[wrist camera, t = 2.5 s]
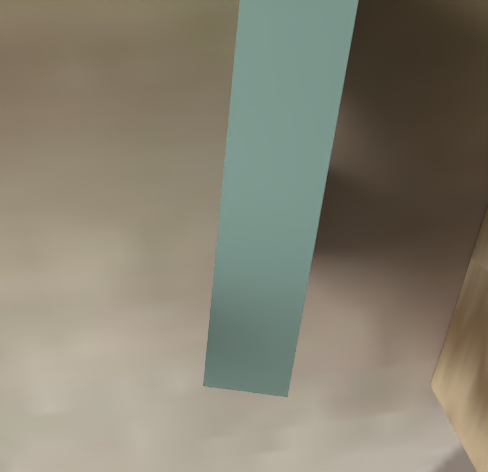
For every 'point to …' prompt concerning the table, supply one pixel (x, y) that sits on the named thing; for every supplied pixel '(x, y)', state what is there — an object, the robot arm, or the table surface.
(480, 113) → the table surface
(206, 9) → the table surface
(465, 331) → the birch notched board
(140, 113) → the table surface
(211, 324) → the teal slotted plate
